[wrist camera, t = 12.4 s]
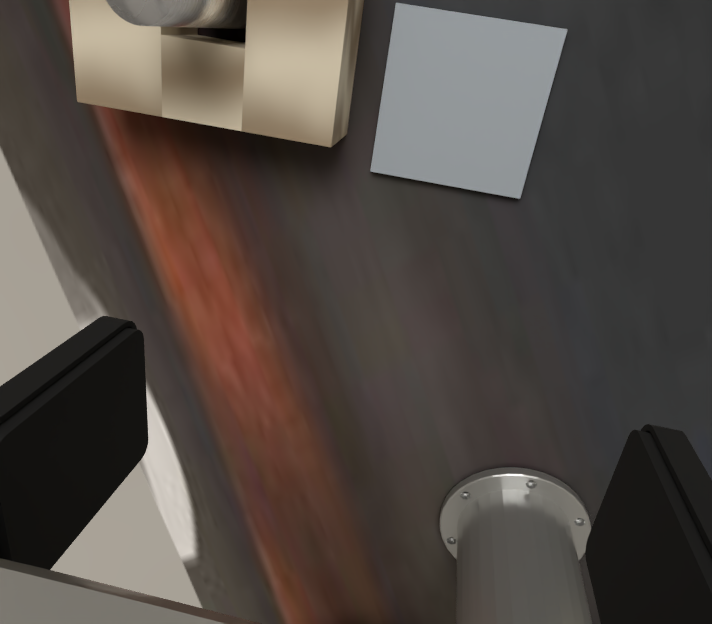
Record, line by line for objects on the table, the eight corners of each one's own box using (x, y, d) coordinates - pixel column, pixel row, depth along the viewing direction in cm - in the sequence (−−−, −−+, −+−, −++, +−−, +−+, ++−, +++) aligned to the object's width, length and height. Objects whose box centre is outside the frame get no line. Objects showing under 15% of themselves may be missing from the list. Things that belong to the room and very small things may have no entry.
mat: (519, 196, 37) (519, 199, 37) (371, 169, 38) (370, 171, 38) (565, 29, 33) (567, 29, 32) (397, 3, 34) (395, 2, 33)
